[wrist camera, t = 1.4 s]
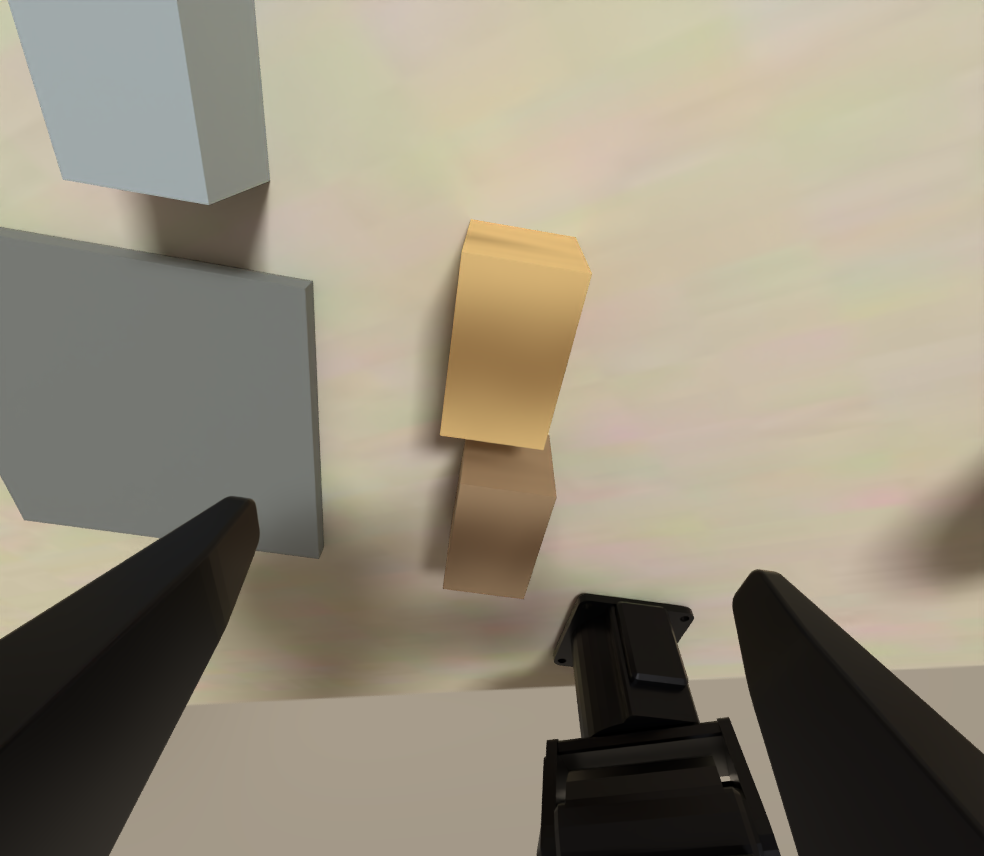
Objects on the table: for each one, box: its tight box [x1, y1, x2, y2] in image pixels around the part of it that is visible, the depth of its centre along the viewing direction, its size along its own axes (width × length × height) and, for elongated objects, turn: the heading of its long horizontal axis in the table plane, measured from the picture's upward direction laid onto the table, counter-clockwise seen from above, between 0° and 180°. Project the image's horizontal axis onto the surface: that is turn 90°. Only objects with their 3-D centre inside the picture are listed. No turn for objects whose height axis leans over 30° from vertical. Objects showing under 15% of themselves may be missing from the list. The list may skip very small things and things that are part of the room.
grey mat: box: [0, 227, 324, 559], centre depth 20 cm, size 14×14×1 cm
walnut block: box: [443, 435, 556, 599], centre depth 21 cm, size 6×4×4 cm, turn 171°
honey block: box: [440, 219, 592, 450], centre depth 16 cm, size 6×4×4 cm, turn 171°
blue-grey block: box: [8, 0, 270, 205], centre depth 12 cm, size 6×4×4 cm, turn 171°
